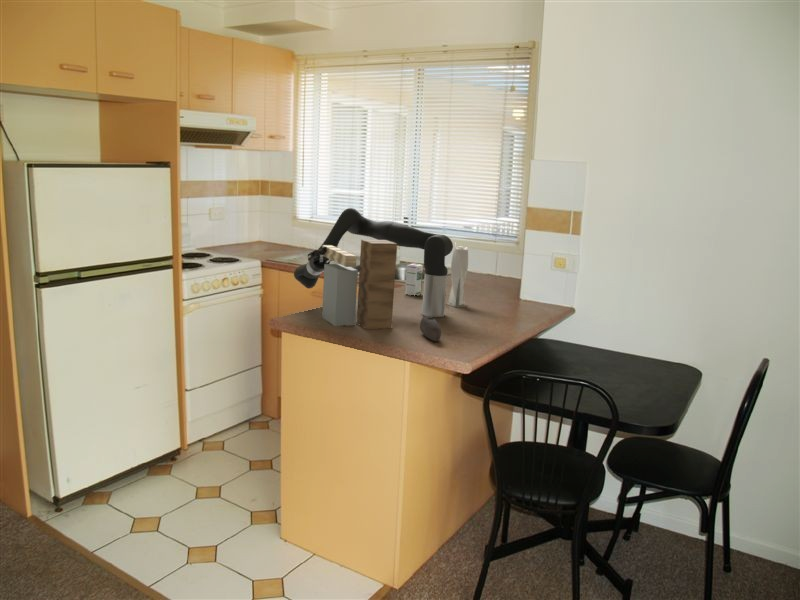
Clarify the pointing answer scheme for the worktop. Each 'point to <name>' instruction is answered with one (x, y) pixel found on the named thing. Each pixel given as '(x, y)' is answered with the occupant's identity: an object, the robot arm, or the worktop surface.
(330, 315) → the grey block
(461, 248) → the skyscraper
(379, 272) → the tall wooden tower
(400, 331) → the worktop surface
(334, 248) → the birch beam
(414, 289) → the syrup box
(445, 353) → the worktop surface
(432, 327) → the perforated stone tool
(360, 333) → the worktop surface
